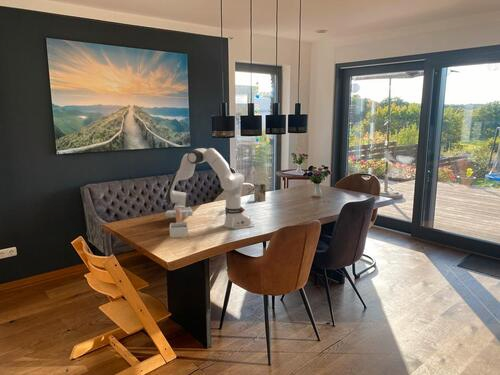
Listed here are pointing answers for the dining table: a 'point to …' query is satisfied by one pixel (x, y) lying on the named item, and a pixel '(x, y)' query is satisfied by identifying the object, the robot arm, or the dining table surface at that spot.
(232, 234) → the dining table surface
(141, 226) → the dining table surface
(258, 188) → the coffee box
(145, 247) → the dining table surface
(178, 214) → the peg
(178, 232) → the open box
